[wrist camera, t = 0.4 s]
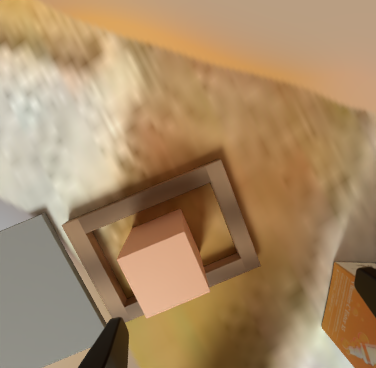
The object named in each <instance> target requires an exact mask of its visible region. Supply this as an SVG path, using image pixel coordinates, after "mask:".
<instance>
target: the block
mask: <svg viewBox="0 0 376 368" xmlns="http://www.w3.org/2000/svg"><path fill="white" fill-rule="evenodd" d="M117 261H118V263H119V265H120V267H121V269H122V271H123V273H124V275H125V277H126V279H127V281H128V283H129V285H130V287H131V289H132V291H133V293H134V295H135V297H136V299H137V301H138V303H139V305H140V307H141V309H142V311H143V312H144V314H145V316H146V318H149V317H151V316H154V315H156V314H158V313H161V312H163V311H166V310H168V309H170V308H173V307H175V306H178V305H180V304H182V303H185V302H187V301H189V300H192V299H194V298H197V297H199V296H201V295H204V294H206V293H209V292H210V289H209V285H208V281H207V278H206V274H205V270H204V267H203V263H202V259H201V256H200V252H199V250H198V248H197V245H196V243H195V241H194V238H193V236H192V234H191V231H190V229H189V227H188V224H187V222H186V220H185V217H184V215H183V213H182V210H181V208H180V209H178V210H175V211H173V212H170V213H168V214H166V215H163V216H161V217H158V218H156V219H154V220H151V221H149V222H146V223H144V224H141V225H139V226H137V227H134V228H132V230H131V232H130V234H129V236H128V238H127V240H126V242H125V244H124V246H123V248H122V250H121V252H120V254H119V256H118V258H117Z"/></svg>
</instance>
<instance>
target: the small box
mask: <svg viewBox="0 0 376 368" xmlns="http://www.w3.org/2000/svg"><path fill="white" fill-rule="evenodd" d="M364 266H370V267H373V268H375V269H376V263H355V262H334V268H333V275H332V280H331V285H330V290H329V295H328V300H327V304H326V309H325V314H324V318H323V321H322V329H323V330H324V331H325V332H326V334H327V335H328V336H329V337H330V338H331V340H332V341H333V342H334V343H335V345H336V346H337V347H338V348H339V349H340V350H341V352H342V353H343V354H344V355H345V357H346V358H347V359H348V360H349V362H350V363H351V364H352V365H353V366H354V368H376V318H375V316H374V315H373V313H372V312H371V311H370V309H369V308H368V306H367V305H366V303H365V302H364V301H363V299H362V298H361V296H360V295H359V293H358V292H357V290H356V289H355V286H354V280H355V274H356V270H357V268H359V267H364Z"/></svg>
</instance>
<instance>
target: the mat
mask: <svg viewBox="0 0 376 368" xmlns="http://www.w3.org/2000/svg"><path fill="white" fill-rule="evenodd" d="M106 325H107V324H106V322H105V320H104V318H103V317H102V315H101V313H100V311H99V309H98V308H97V306H96V304H95V302H94V300H93V298H92V297H91V295H90V293H89V291H88V289H87V288H86V286H85V284H84V282H83V280H82V279H81V277H80V275H79V273H78V271H77V270H76V268H75V266H74V265H73V262H72V261H71V259H70V257H69V255H68V253H67V252H66V250H65V248H64V246H63V244H62V242H61V241H60V239H59V237H58V235H57V233H56V232H55V230H54V228H53V226H52V224H51V223H50V221H49V219H48V217H47V215H46V214H45V213H43V214H41V215H38V216H36V217H34V218H31V219H29V220H27V221H24V222H21V223H19V224H17V225H14V226H12V227H9V228H7V229H5V230H2V231H0V368H42V367H45V366H47V365H50V364H52V363H54V362H57V361H59V360H62V359H64V358H66V357H69V356H71V355H74V354H76V353H78V352H81V351H83V350H86V349H88V348H90V347H92V346H93V344H94V343H95V341H96V340H97V338H98V337H99V335H100V334H101V332H102V331H103V329H104V328H105V326H106Z"/></svg>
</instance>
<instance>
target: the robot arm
mask: <svg viewBox="0 0 376 368" xmlns="http://www.w3.org/2000/svg"><path fill="white" fill-rule="evenodd" d="M354 286H355V289H356V290H357V292H358V293H359V295H360V296H361V298H362V299H363V301H364V302H365V303H366V305H367V306H368V308H369V309H370V311H371V312H372V313H373V315H374V316H375V318H376V269H375V268H373V267H370V266H364V267H359V268H357V270H356V274H355V280H354ZM128 344H129V333H128V329H127V327H126V324H125V322H124V320H123V318H122V317H116V318H112V319H110V320H109V322H108V323H107V325H106V326H105V328H104V329H103V331H102V332H101V334H100V335H99V337H98V338H97V340H96V341H95V343H94V344H93V346H92V347H91V349H90V350H89V352H88V353H87V355H86V356H85V358H84V359H83V361H82V362H81V364H80V365H79V367H78V368H127V365H128Z"/></svg>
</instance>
